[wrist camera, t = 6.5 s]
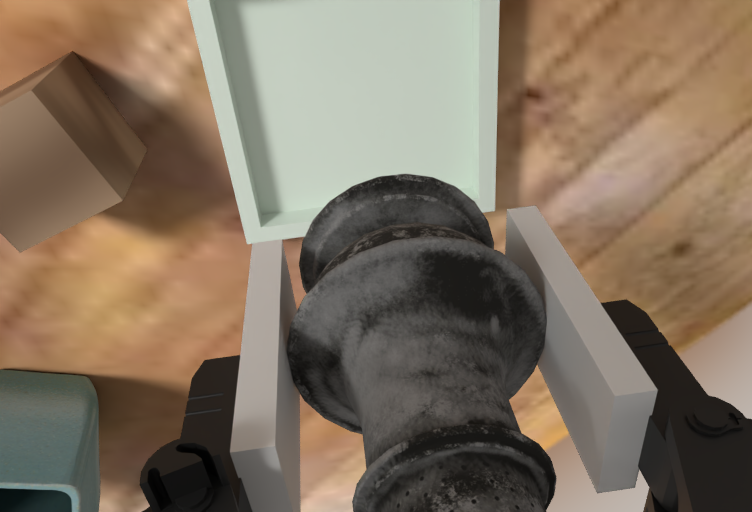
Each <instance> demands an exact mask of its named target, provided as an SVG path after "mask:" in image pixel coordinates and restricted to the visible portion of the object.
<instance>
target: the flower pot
mask: <svg viewBox="0 0 752 512" xmlns="http://www.w3.org/2000/svg"><path fill="white" fill-rule="evenodd" d="M99 502H100V462H99V406H98V398H97V393H96V390H95V388H94V386H93V384H92V382H91V381H90V379H89V378H88V377H85V376H79V375H67V374H51V373H38V372H26V371H14V370H0V512H98V511H99Z"/></svg>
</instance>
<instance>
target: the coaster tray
mask: <svg viewBox="0 0 752 512" xmlns="http://www.w3.org/2000/svg"><path fill="white" fill-rule="evenodd" d="M187 2H188V6H189V10H190V14H191V18H192V22H193V26H194V30H195V34H196V39H197V43H198V47H199V51H200V55H201V59H202V63H203V67H204V71H205V75H206V79H207V83H208V87H209V91H210V95H211V99H212V103H213V107H214V112H215V116H216V120H217V124H218V128H219V132H220V136H221V140H222V144H223V148H224V152H225V156H226V160H227V164H228V168H229V172H230V176H231V180H232V185H233V189H234V193H235V197H236V201H237V205H238V209H239V213H240V217H241V221H242V225H243V229H244V233H245V237H246V241H247V244H252V243H258V242H265V241H273V240H280V239H290V238H297V237H304V236H305V235H306V233H307V231H308V229H309V227H310V225H311V223H312V221H313V219H314V218H315V217H316V216H317V215H318V214H319V213H320V211H321V210H322V209H323V208H324V207H325V206H326V205H327V204H328V203H329V201H331V200H332V199H334V198H335V197H337V196H338V195H340V194H341V193H343V192H344V191H346V190H347V189H349V188H350V187H352V186H354V185H357V184H359V183H362V182H365V181H368V180H371V179H373V178H376V177H380V176H389V175H398V174H413V175H420V176H428V177H433V178H436V179H438V180H441V181H443V182H446V183H448V184H451V185H453V186H455V187H457V188H458V189H460V190H461V191H462V192H463V193H465V194H466V195H467V196H468V197H470V198H471V199H472V200H473V201H475V203H476V204H477V206H478V207H479V209H480V210H481V212H482V213H484V212H491V211H495V188H496V142H497V96H498V50H499V4H500V0H187Z"/></svg>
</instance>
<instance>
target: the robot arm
mask: <svg viewBox="0 0 752 512" xmlns="http://www.w3.org/2000/svg"><path fill="white" fill-rule="evenodd" d="M505 256H507V257H508V258H509V259H510V260H512V261H513V262H514V263H516V264H517V265H518V266H520V267H521V268H522V269H524V270H525V272H526V273H527V275H528V276H529V278H530V279H531V281H532V282H533V283H534V285H535V286H536V288H537V289H538V291H539V292H540V294H541V296H542V300H543V304H544V309H545V313H546V317H547V325H546V335H545V345H544V349H543V352H542V354H541V356H540V358H539V361H538V363H537V365H538V367H539V369H540V371H541V373H542V375H543V377H544V380H545V382H546V384H547V386H548V388H549V390H550V393H551V395H552V397H553V399H554V401H555V403H556V406H557V408H558V410H559V412H560V414H561V416H562V418H563V421H564V423H565V425H566V427H567V429H568V431H569V434H570V436H571V438H572V440H573V442H574V444H575V446H576V449H577V450H578V453H579V455H580V457H581V459H582V462H583V464H584V466H585V468H586V470H587V472H588V475H589V477H590V479H591V481H592V483H593V485H594V488H595V489H596V492H597V493H602V492H609V491H616V490H623V489H629V488H635V485H636V481H637V476H638V472H639V469H640V471H641V473H642V475H643V476H644V478H645V480H646V482H647V484H648V486H649V487H650V488H649V492H648V496H647V499H646V504H645V507H644V511H643V512H752V419H747V418H745V417H744V415H743V414H742V413H741V412H740V411H739V410H737V409H736V408H735V407H734V406H732V405H731V404H729V403H727V402H725V401H723V400H721V399H719V398H716V397H712V396H708V395H707V394H706V392H705V391H704V390H703V388H702V387H701V386H700V384H699V383H698V382H697V380H696V379H695V377H694V376H693V375H692V374H691V372H690V371H689V369H688V368H687V367H686V366H685V364H684V363H683V361H682V360H681V359H680V357H679V356H678V355H677V353H676V352H675V351H674V349H673V348H672V347H671V346H669V345H668V341H667V340H666V339H665V337H664V336H663V335H662V333H661V332H659V331H658V328H657V327H656V325H655V324H654V323H653V321H652V320H651V319H650V317H649V316H648V315H647V313H646V312H644V311H643V310H641V309H640V308H638V307H637V306H635V305H634V304H632V303H631V302H629V301H628V300H620V301H612V302H605V303H600V302H599V300H598V299H597V297H596V296H595V294H594V293H593V291H592V290H591V288H590V287H589V285H588V284H587V282H586V281H585V279H584V278H583V276H582V275H581V273H580V272H579V270H578V269H577V267H576V266H575V264H574V263H573V261H572V260H571V258H570V257H569V255H568V254H567V252H566V251H565V249H564V248H563V246H562V245H561V243H560V242H559V240H558V239H557V237H556V236H555V234H554V232H553V231H552V229H551V228H550V226H549V225H548V223H547V222H546V220H545V219H544V217H543V216H542V214H541V213H540V211H539V210H538V208H537V207H536V205H535V206H528V207H520V208H513V209H507V222H506V252H505ZM296 312H297V309H296V304H295V299H294V294H293V290H292V285H291V280H290V275H289V270H288V265H287V261H286V256H285V251H284V246H283V241H282V239H280V240H273V241H265V242H258V243H252V252H251V261H250V271H249V280H248V289H247V298H246V308H245V317H244V326H243V335H242V345H241V354H240V355H237V356H230V357H223V358H216V359H209V360H204V362H203V363H202V365H201V366H200V368H199V369H198V370H197V372H196V373H195V375H194V376H193V378H192V381H191V386H190V391H189V397H188V398H189V401H188V402H187V407H186V412H185V413H186V417H184V422H183V428H182V433H181V438H180V439H178V440H174V441H172V442H170V443H169V444H167V445H165V446H163V447H161V448H160V449H159V450H157V451H156V452H155V453H154V454H153V455H152V456H151V457H150V458H149V459H148V461H147V462H146V464H145V466H144V468H143V469H142V471H141V477H140V486H141V488H142V490H143V493H144V495H145V497H146V499H147V501H148V503H149V505H150V507H149V508H147V509H146V510H144V511H142V512H300V392H299V391H298V389H297V387H296V386H295V384H294V382H293V379H292V374H291V370H290V365H289V361H288V357H287V343H288V337H289V330H290V324H291V322H292V320H293V318H294V316H295V314H296Z"/></svg>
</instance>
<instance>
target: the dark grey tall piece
mask: <svg viewBox="0 0 752 512" xmlns="http://www.w3.org/2000/svg"><path fill="white" fill-rule="evenodd" d="M299 267H300V273H301V279H302V284H303V288H304V290H305V292H306V293H307V295H306V296H305V297H304V298H303V300H302V302H301V304H300V306H299V308H298V310H297V312H296V314H295V316H294V318H293V320H292V322H291V324H290V330H289V337H288V343H287V357H288V361H289V365H290V370H291V374H292V379H293V382H294V384H295V386H296V387H297V389H298V391H299V392H300V394H301V396H302V397H303V399H304V401H305V402H307V403H308V404H309V405H310V406H311V407H312V408H313V409H315V410H316V411H317V412H318V413H319V414H320V415H321V416H323V417H324V418H325V419H327V420H329V421H331V422H333V423H335V424H337V425H339V426H341V427H343V428H345V429H347V430H349V431H352V432H356V433H360V434H363V441H364V450H365V459H366V468H367V470H366V471H365V473H364V474H363V476H362V477H361V479H360V480H359V482H358V483H357V486H356V490H355V494H354V497H353V501H352V503H353V511H354V512H546V509H547V508H548V506H549V504H550V502H551V500H552V498H553V496H554V492H555V485H556V475H555V472H554V468H553V464H552V461H551V459H550V457H549V456H548V455H547V453H546V452H545V451H544V450H543V448H542V447H541V446H540V445H539V444H538V443H537V442H535V441H533V440H532V439H530V438H528V437H527V436H525V435H523V434H522V433H521V431H520V428H519V426H518V423H517V421H516V418H515V415H514V413H513V410H512V408H511V405H510V402H509V399H510V398H512V397H513V396H514V395H515V394H516V393H517V392H518V391H519V389H520V388H521V387H522V386H523V384H524V383H525V382H526V381H527V379H528V378H529V377H530V376H531V374H532V373H533V372H534V370H535V367H536V365H537V363H538V361H539V358H540V356H541V354H542V352H543V349H544V345H545V335H546V325H547V317H546V313H545V309H544V304H543V300H542V296H541V294H540V292H539V291H538V289H537V288H536V286H535V285H534V283H533V282H532V281H531V279H530V278H529V276H528V275H527V273H526V272H525V270H524V269H522V268H521V267H520V266H518V265H517V264H516V263H514V262H513V261H512V260H510V259H509V258H508V257H507V256H505V255H504V254H503V253H501V252H499V251H497V250H494V241H493V238H492V234H491V231H490V227H489V223H488V221H487V219H486V218H485V216H484V215H483V213H482V212H481V210H480V209H479V207H478V206H477V204H476V203H475V201H473V200H472V199H471V198H470V197H468V196H467V195H466V194H465V193H463V192H462V191H461V190H460V189H458V188H457V187H455V186H453V185H451V184H448V183H446V182H443V181H441V180H438V179H436V178H433V177H428V176H420V175H413V174H398V175H389V176H380V177H376V178H373V179H371V180H368V181H365V182H362V183H359V184H357V185H354V186H352V187H350V188H349V189H347V190H346V191H344V192H343V193H341V194H340V195H338V196H337V197H335V198H334V199H332V200H331V201H329V203H328V204H327V205H326V206H325V207H324V208H323V209H322V210H321V211H320V213H319V214H318V215H317V216H316V217H315V218H314V219H313V221H312V223H311V225H310V227H309V229H308V231H307V233H306V235H305V237H304V239H303V242H302V249H301V255H300V262H299Z"/></svg>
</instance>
